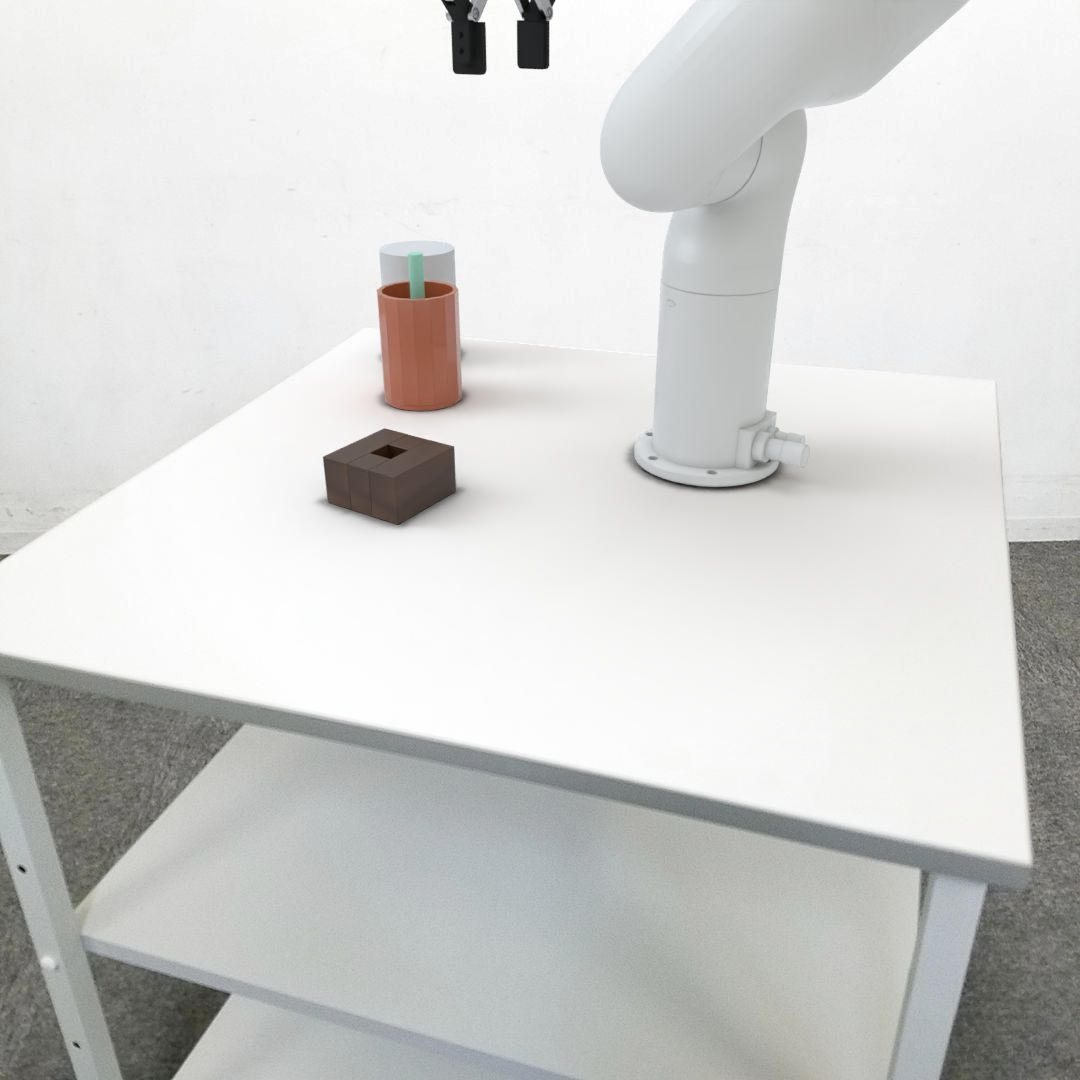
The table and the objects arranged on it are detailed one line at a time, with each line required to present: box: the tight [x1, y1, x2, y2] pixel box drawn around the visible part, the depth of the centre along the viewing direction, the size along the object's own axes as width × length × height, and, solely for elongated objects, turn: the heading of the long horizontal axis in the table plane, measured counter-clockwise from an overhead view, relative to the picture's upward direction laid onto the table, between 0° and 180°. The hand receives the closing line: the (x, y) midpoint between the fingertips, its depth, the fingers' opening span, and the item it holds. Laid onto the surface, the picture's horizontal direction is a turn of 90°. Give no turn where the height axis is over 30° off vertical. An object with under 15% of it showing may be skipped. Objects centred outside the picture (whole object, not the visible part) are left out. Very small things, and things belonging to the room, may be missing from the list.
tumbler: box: [376, 280, 463, 412], centre depth 103 cm, size 8×8×11 cm
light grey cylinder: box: [378, 240, 457, 287], centre depth 115 cm, size 8×8×12 cm
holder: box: [322, 427, 457, 525], centre depth 83 cm, size 7×7×4 cm
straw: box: [408, 252, 425, 299], centre depth 102 cm, size 1×1×14 cm
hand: (502, 71), depth 92 cm, fingers open, 9 cm apart
